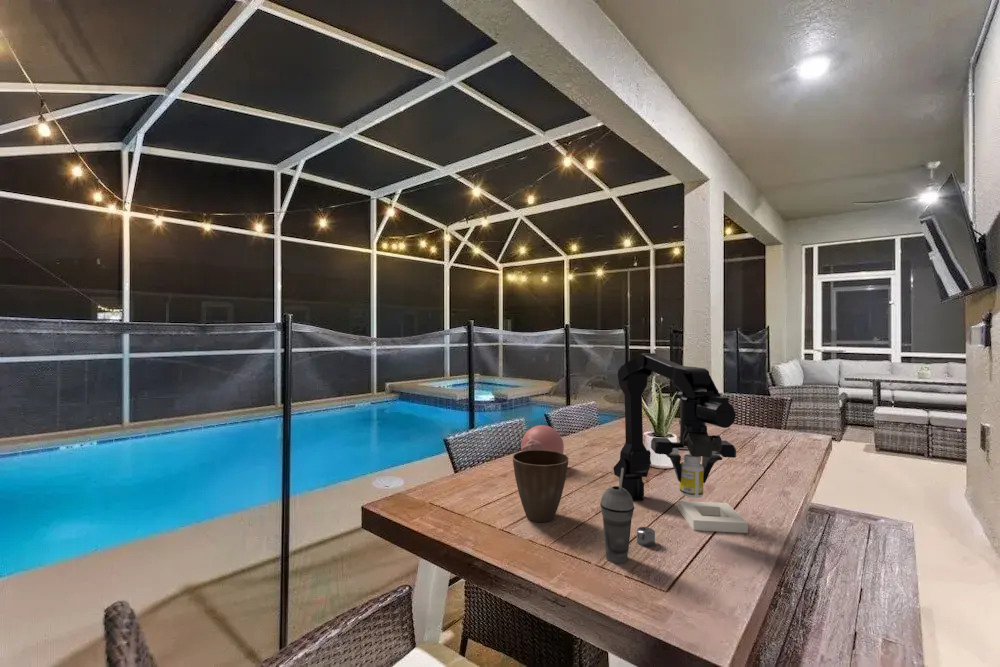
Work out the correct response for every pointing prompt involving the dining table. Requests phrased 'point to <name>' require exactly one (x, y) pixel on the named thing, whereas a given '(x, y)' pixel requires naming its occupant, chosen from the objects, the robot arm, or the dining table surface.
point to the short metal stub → (646, 537)
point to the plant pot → (540, 482)
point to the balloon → (542, 439)
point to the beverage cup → (617, 521)
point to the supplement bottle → (691, 476)
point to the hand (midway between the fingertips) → (691, 481)
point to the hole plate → (712, 517)
